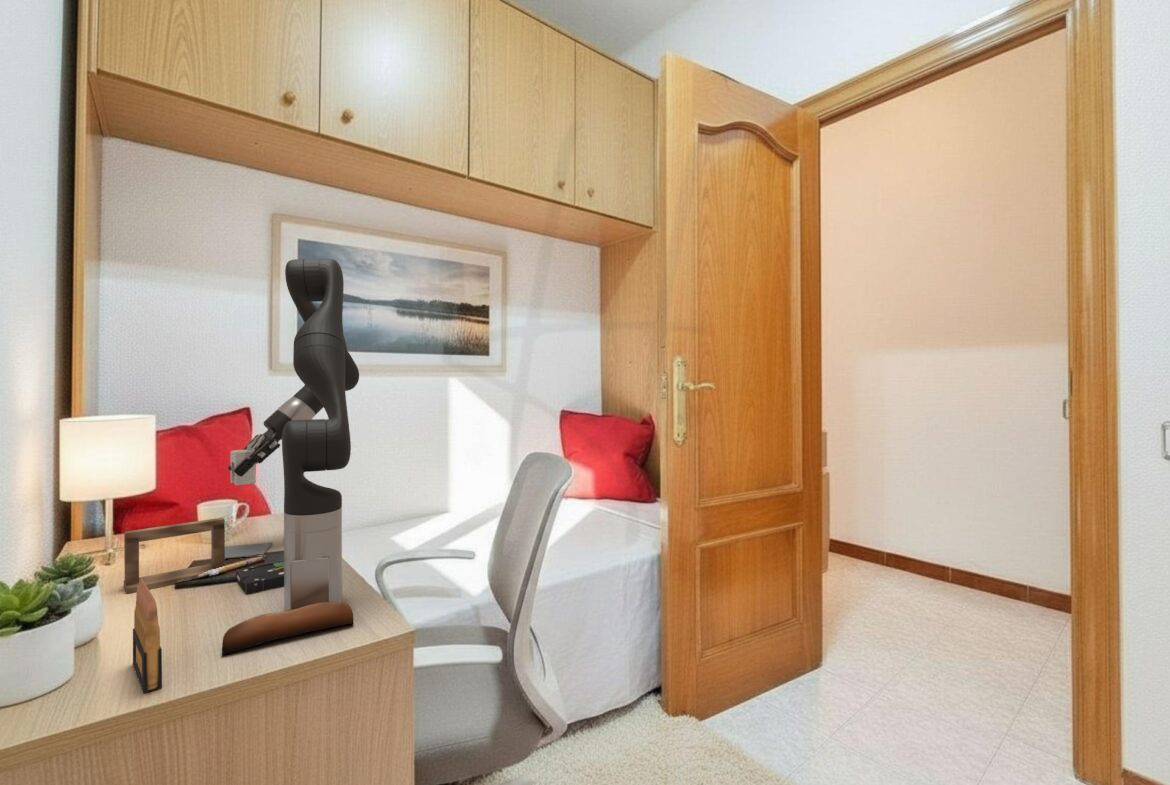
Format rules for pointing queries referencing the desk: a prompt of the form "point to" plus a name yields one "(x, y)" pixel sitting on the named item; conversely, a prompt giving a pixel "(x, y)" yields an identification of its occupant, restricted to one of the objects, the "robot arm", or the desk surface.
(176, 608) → the desk surface
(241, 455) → the pale grey upright block
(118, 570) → the desk surface
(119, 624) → the desk surface
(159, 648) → the ammunition clip
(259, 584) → the disk drive
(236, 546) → the slate mat
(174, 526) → the stand
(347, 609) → the sunglasses case
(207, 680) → the desk surface
